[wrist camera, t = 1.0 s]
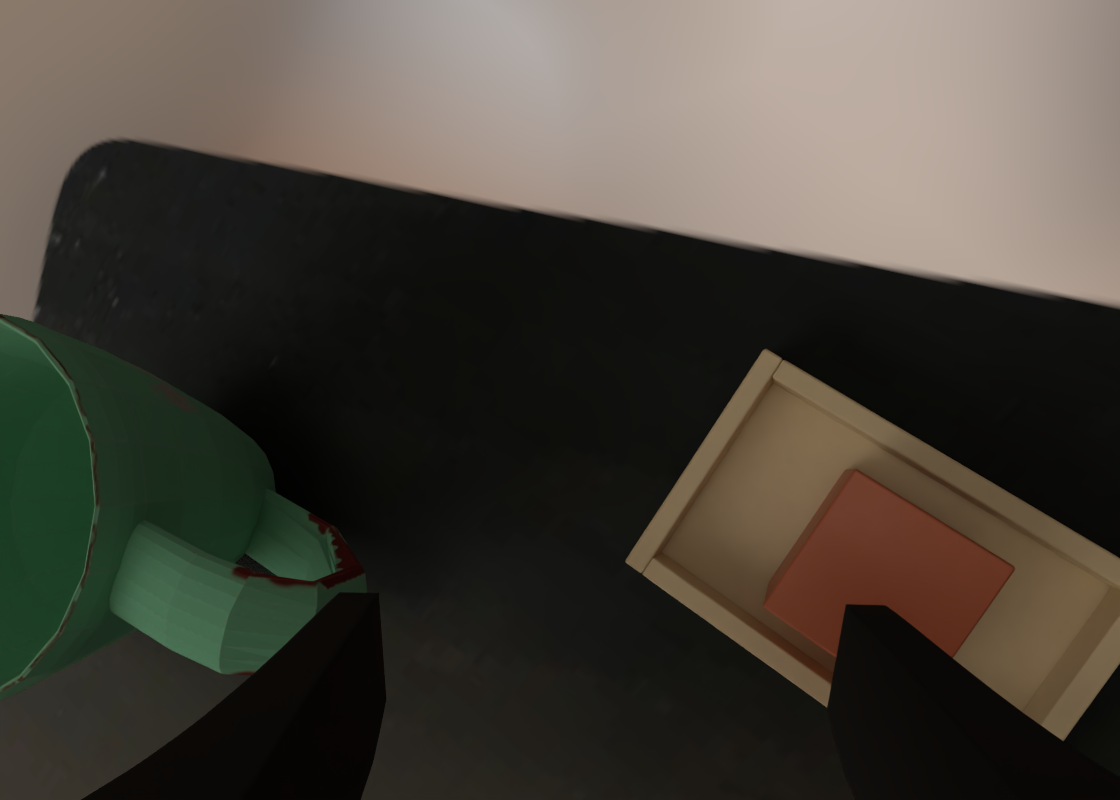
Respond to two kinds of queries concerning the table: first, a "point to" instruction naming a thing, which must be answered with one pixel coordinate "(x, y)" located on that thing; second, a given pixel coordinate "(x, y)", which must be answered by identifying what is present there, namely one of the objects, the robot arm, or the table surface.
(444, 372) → the table surface
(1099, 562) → the tray
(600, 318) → the table surface
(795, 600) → the block
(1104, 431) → the table surface
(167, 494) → the mug
